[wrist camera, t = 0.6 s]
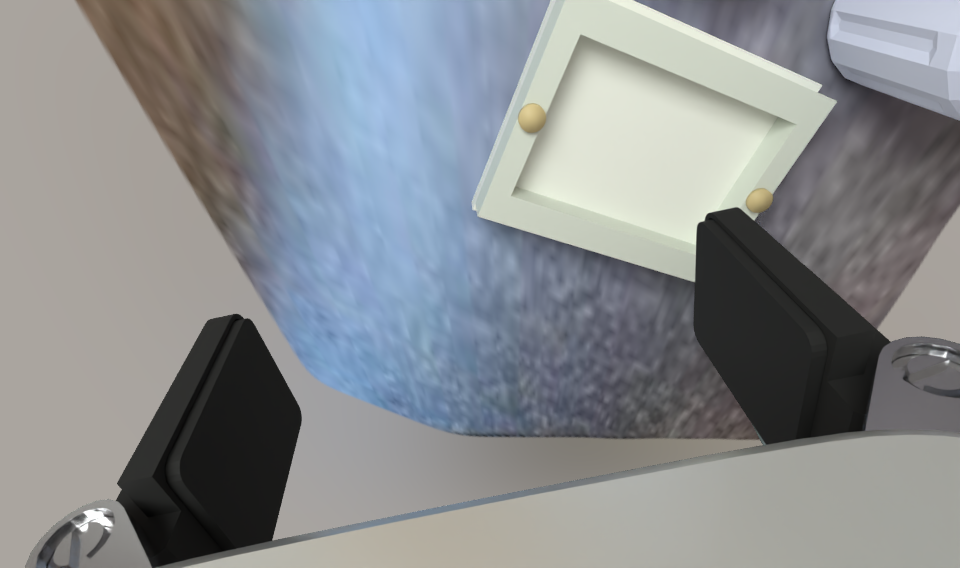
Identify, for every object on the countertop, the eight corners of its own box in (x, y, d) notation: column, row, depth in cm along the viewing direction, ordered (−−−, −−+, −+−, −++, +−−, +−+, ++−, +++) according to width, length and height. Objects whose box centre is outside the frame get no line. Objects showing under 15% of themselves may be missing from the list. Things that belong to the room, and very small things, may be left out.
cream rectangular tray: (562, -31, 31) (577, -27, 28) (811, 81, 35) (847, 95, 32) (470, 202, 38) (474, 225, 35) (687, 269, 43) (707, 294, 40)
